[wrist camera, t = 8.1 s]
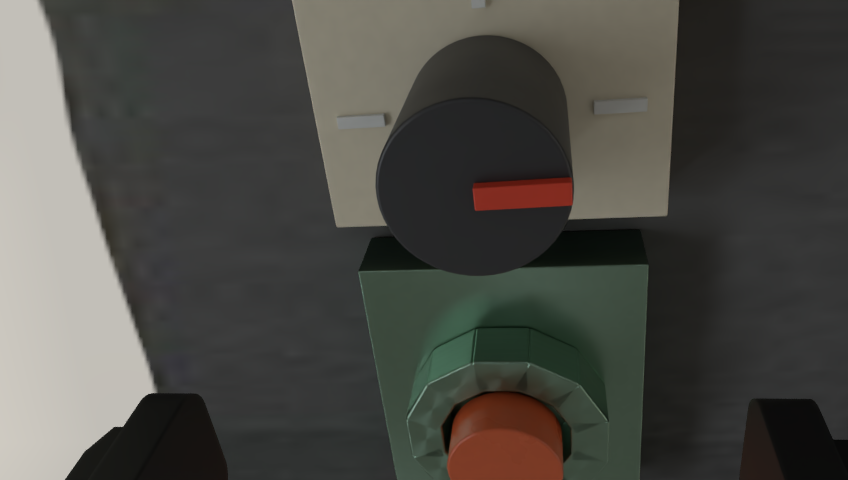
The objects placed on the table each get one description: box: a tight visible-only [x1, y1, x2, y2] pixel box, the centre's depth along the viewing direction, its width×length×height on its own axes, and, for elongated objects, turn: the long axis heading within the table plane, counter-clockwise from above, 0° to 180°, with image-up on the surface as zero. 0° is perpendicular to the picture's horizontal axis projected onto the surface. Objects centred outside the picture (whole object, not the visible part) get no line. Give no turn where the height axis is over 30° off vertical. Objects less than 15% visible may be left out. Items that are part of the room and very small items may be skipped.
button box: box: [358, 230, 649, 480], centre depth 26 cm, size 11×9×4 cm
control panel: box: [292, 0, 679, 227], centre depth 21 cm, size 11×10×2 cm
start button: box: [447, 392, 564, 480], centre depth 24 cm, size 4×4×2 cm
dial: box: [375, 35, 574, 276], centre depth 18 cm, size 4×4×5 cm
